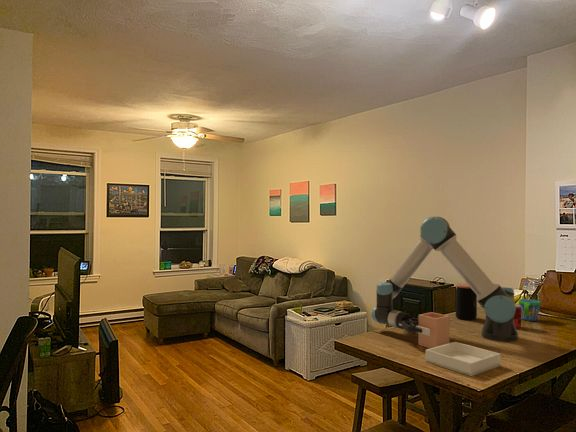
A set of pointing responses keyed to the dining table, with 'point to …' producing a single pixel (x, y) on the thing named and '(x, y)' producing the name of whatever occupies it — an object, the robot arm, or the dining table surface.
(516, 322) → the canned food
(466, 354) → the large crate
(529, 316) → the snack cup
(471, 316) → the coffee jar
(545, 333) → the dining table surface
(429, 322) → the box
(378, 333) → the dining table surface
